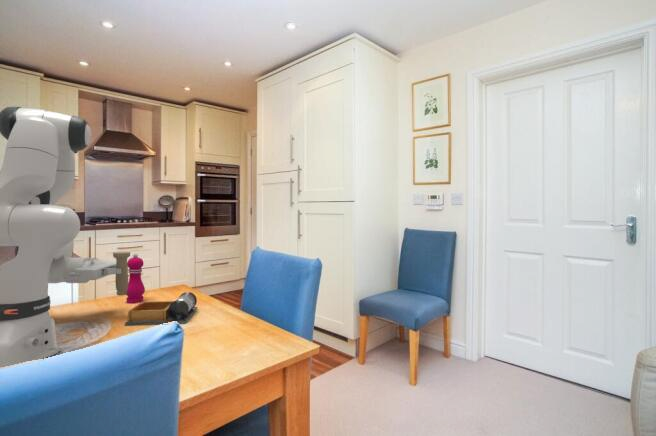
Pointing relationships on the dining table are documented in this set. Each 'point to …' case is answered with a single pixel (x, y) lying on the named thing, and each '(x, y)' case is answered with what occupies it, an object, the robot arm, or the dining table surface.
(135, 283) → the pepper mill
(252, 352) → the dining table surface
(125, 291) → the handle
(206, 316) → the dining table surface
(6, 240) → the robot arm
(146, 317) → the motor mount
